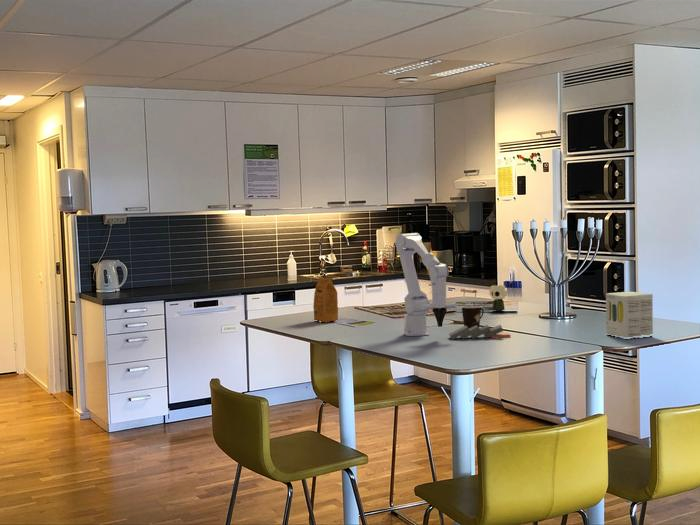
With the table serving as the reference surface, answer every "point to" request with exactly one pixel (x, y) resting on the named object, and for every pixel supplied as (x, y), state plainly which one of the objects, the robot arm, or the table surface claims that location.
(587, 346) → the table surface
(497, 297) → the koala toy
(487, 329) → the domino
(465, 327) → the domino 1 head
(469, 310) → the coffee mug
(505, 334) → the red domino
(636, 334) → the supplement box
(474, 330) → the domino
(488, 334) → the domino
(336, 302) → the coffee package
